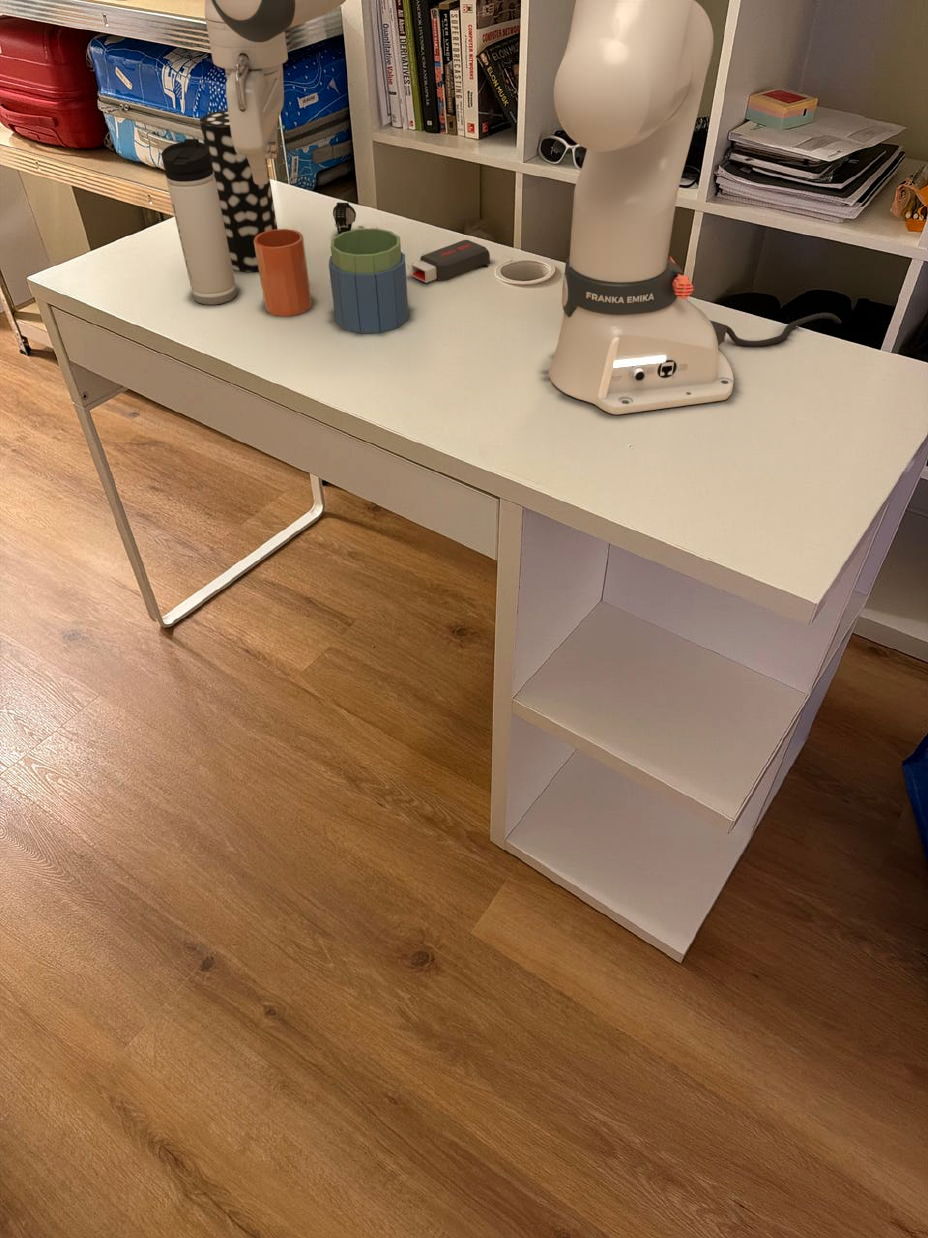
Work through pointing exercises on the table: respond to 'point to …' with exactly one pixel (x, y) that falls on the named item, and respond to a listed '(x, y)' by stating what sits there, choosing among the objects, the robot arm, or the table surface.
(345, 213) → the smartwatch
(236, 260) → the spotted tube
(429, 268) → the usb drive
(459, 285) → the table surface
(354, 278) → the cup stack
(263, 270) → the terracotta cup
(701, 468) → the table surface
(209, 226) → the travel mug
